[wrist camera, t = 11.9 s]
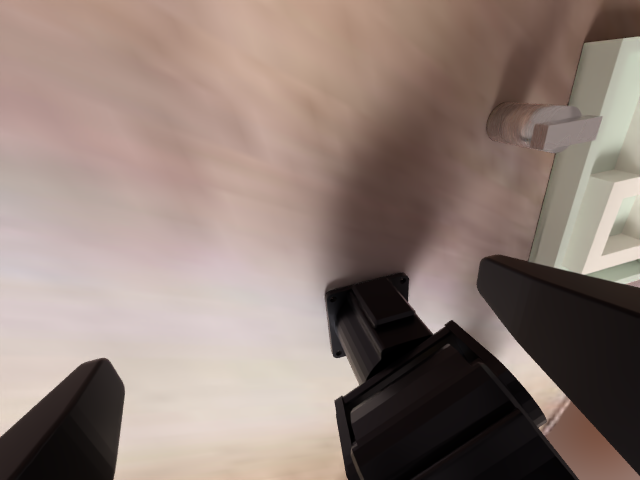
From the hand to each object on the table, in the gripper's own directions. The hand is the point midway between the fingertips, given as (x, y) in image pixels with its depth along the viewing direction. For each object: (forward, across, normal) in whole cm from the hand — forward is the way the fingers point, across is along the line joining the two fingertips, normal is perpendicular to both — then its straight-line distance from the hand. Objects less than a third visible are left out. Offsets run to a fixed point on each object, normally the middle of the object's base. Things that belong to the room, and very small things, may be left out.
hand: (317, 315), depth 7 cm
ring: (+11, -28, +5) cm, 31 cm away
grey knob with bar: (+12, -16, -1) cm, 20 cm away
